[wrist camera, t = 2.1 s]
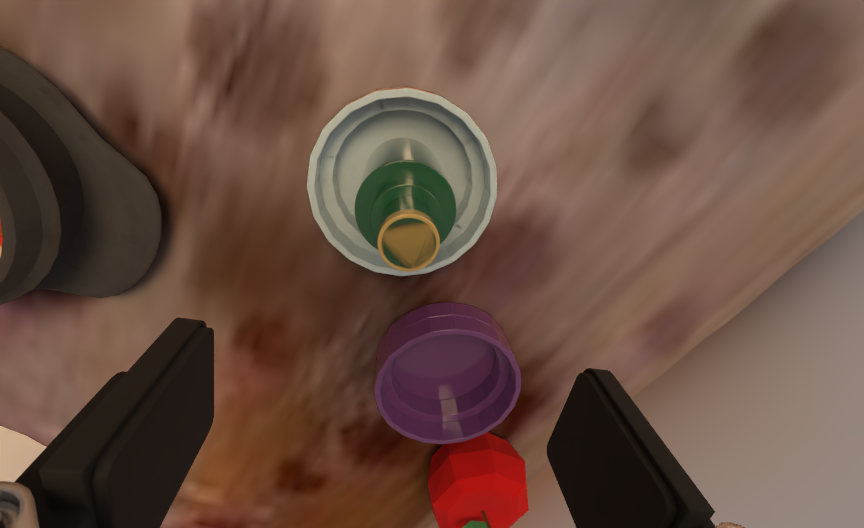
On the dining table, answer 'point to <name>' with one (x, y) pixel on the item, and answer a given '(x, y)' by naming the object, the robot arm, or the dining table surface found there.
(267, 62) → the dining table surface
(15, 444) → the cylinder
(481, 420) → the plum bowl
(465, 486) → the apple
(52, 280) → the casserole
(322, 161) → the pale bowl
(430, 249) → the bottle
